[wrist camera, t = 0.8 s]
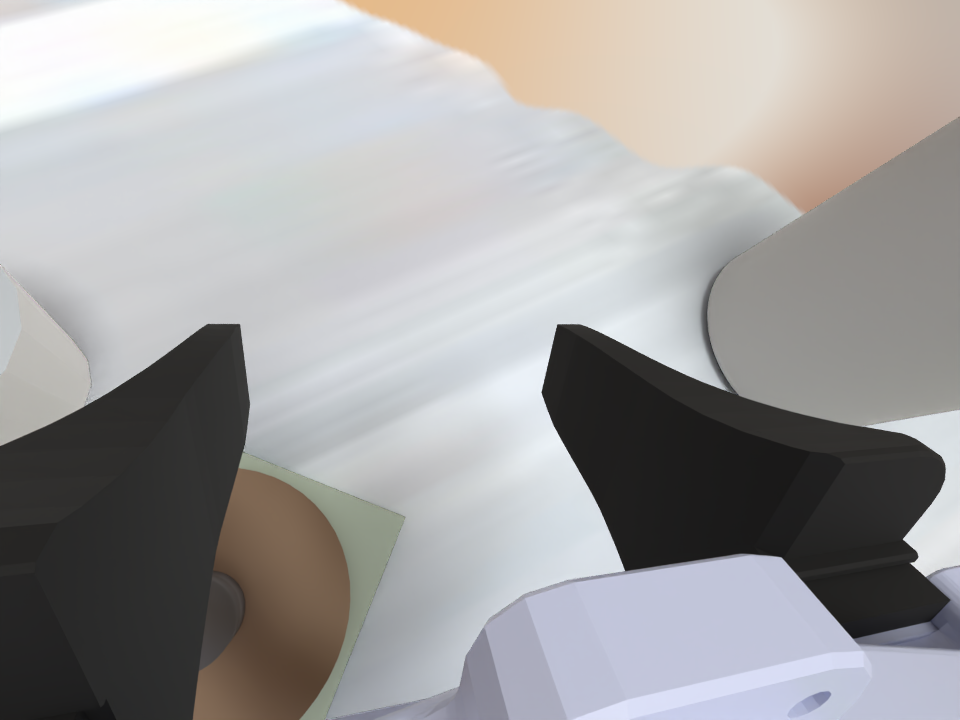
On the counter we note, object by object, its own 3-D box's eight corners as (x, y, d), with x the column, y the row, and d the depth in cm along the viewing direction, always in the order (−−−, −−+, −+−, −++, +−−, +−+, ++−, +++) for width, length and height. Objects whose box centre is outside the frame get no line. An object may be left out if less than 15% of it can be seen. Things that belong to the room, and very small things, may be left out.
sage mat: (278, 831, 19) (277, 837, 19) (-62, 734, 17) (-70, 739, 17) (404, 517, 23) (405, 517, 23) (146, 414, 22) (142, 412, 21)
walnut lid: (271, 817, 19) (262, 872, 16) (-43, 726, 17) (-118, 769, 14) (390, 523, 23) (401, 524, 20) (148, 427, 21) (120, 413, 18)
